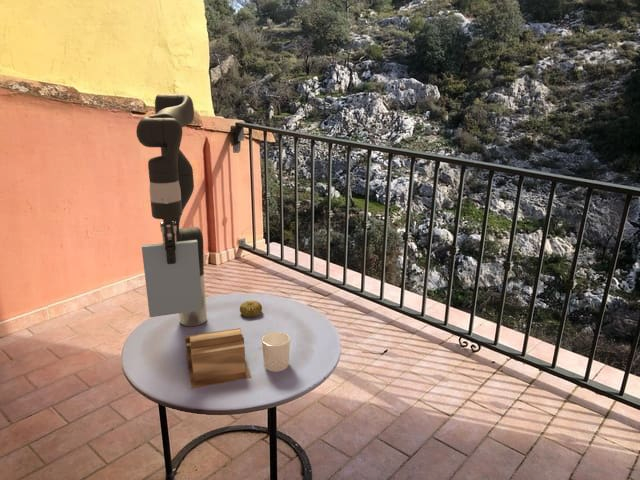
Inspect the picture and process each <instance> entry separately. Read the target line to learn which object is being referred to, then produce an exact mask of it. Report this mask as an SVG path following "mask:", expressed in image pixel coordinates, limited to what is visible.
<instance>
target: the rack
mask: <svg viewBox="0 0 640 480" xmlns="http://www.w3.org/2000/svg"><path fill="white" fill-rule="evenodd" d="M238 329H240V330H241V331H242V329H241V327H238V328H231V329H225V330H217V331H212V332H210V331H209V332H203V333H195V334H190V335H185V337H184V338H185V351H186V360H187V367H188V374H189V381H190V388H191V389H196V388H201V387H206V386H212V385H219V384H222V383H223V384H225V383H229V382H234V381H241V380H245V379H252V375H251V372H250V369H249V367H248V364H247V362H246V360H245V370H246V372H241V373H236V374H230V375H224V376H219V377H213V378H207V379H202V380H196V381H194V376H193V370H192V359H191V347H190V337H191V336H197V335H204V334H211V333H218V332H224V331H231V330H238ZM244 339H245V337H244V335H243V334H242V341H243V344H244V345H245V340H244Z"/></svg>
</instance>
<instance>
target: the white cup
mask: <svg viewBox="0 0 640 480" xmlns="http://www.w3.org/2000/svg"><path fill="white" fill-rule="evenodd" d="M290 342H291V338H290V335H288V334H287V333H286V332H285V333H284V332H282V331H281V332H280V331H274V332H272V331H271V332H269V333H266V334H264V335H263V336H262V337H261V347H262V356H263V357H262V358H263V366H264V368H265V369H266V370H268V372H269V371H270V372H276V373H277V372H282V371H284V370H286V369H287V368H288V367H289V363H290V362H289V361H290V345H291V344H290Z"/></svg>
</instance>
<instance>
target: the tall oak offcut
mask: <svg viewBox="0 0 640 480" xmlns="http://www.w3.org/2000/svg"><path fill="white" fill-rule="evenodd" d="M240 329H241V328H240ZM240 329H238V330H231V331H224V332H218V333H211V334H204V335H197V336H191V337H190V347H191V349H196V348H203V347H209V346H215V345H222V344H228V343H235V342H241V341H242V335H243V333H242V329H241V330H240ZM191 359H192V352H191ZM192 370H193V365H192Z"/></svg>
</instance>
